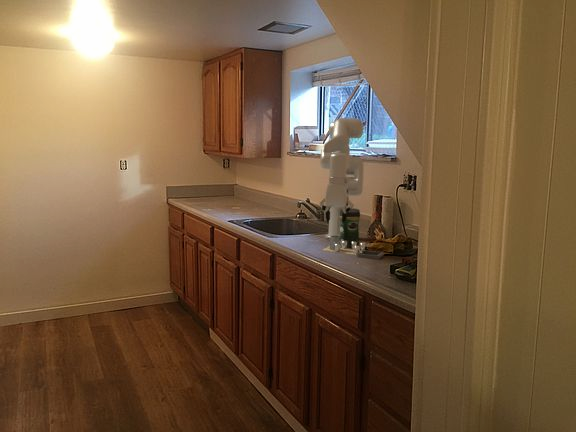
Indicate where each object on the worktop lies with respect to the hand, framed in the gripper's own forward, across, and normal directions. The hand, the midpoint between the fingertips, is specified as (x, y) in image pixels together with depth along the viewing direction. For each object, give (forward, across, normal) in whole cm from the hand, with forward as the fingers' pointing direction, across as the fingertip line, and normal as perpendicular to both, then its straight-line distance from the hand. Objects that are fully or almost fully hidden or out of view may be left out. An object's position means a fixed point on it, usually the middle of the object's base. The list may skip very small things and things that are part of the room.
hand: (335, 220), depth 237 cm
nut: (+13, 0, 0) cm, 13 cm away
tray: (+14, -18, +6) cm, 24 cm away
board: (+14, -4, 0) cm, 14 cm away
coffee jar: (+14, -3, -11) cm, 18 cm away
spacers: (+13, -7, 0) cm, 15 cm away
